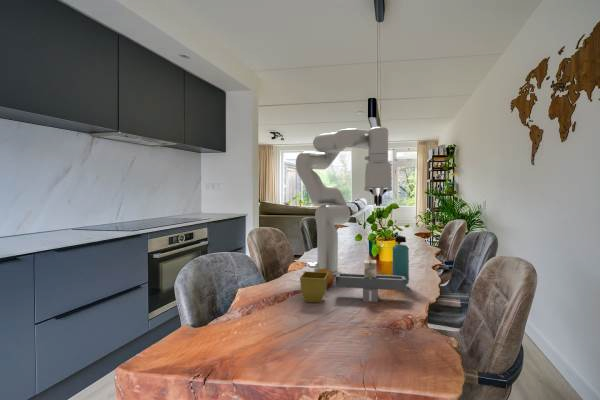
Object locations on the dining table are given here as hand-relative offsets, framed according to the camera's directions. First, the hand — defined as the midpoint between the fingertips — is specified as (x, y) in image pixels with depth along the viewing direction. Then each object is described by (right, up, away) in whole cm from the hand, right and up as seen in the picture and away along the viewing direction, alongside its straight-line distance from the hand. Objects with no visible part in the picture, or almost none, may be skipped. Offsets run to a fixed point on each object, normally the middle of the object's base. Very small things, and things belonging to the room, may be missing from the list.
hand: (377, 205), depth 136 cm
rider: (-6, -27, -14) cm, 30 cm away
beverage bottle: (+9, -32, +1) cm, 34 cm away
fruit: (-21, -32, +1) cm, 39 cm away
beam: (-6, -32, -13) cm, 36 cm away
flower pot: (-26, -33, -17) cm, 45 cm away
